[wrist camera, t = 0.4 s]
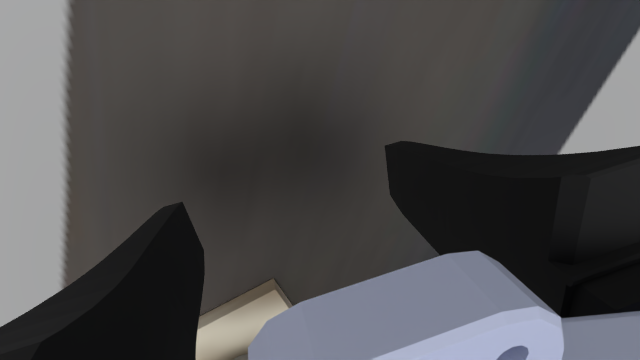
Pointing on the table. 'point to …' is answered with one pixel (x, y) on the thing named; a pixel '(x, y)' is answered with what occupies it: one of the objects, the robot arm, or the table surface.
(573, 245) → the robot arm
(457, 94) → the table surface
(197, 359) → the post block
